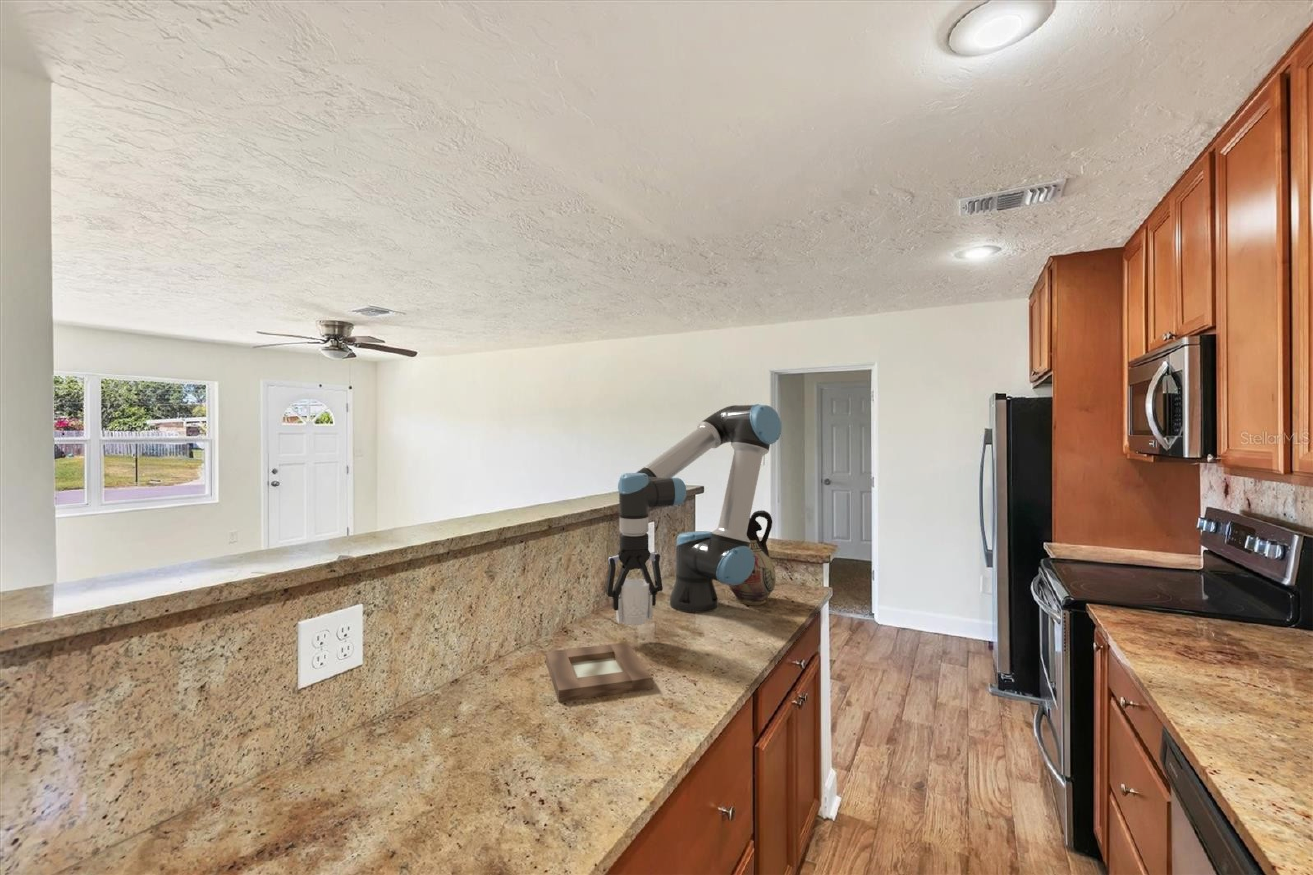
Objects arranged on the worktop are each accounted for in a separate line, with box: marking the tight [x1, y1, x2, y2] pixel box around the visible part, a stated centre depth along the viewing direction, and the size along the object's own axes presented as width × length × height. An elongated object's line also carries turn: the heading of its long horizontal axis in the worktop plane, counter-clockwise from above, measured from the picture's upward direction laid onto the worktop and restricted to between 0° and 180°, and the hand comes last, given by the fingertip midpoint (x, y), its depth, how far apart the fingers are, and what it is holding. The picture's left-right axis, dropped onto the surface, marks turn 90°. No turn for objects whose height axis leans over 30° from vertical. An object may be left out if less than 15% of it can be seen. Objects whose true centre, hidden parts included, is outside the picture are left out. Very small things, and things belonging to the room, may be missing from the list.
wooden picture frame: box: [545, 642, 654, 703], centre depth 124 cm, size 20×20×2 cm
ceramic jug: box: [728, 509, 777, 606], centre depth 178 cm, size 17×15×30 cm
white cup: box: [619, 578, 650, 626], centre depth 144 cm, size 8×8×10 cm
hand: (634, 619), depth 144 cm, fingers closed on white cup, 7 cm apart
